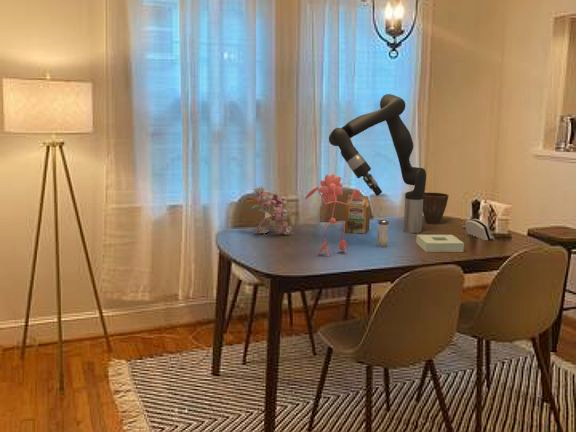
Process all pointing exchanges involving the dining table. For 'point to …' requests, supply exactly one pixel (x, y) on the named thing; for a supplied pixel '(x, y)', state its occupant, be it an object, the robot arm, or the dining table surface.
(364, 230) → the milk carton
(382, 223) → the steel peg
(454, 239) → the hole plate
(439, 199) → the plant pot
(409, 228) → the robot arm
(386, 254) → the dining table surface
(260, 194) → the flower
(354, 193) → the pink blossom sprig
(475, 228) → the grey napkin holder
